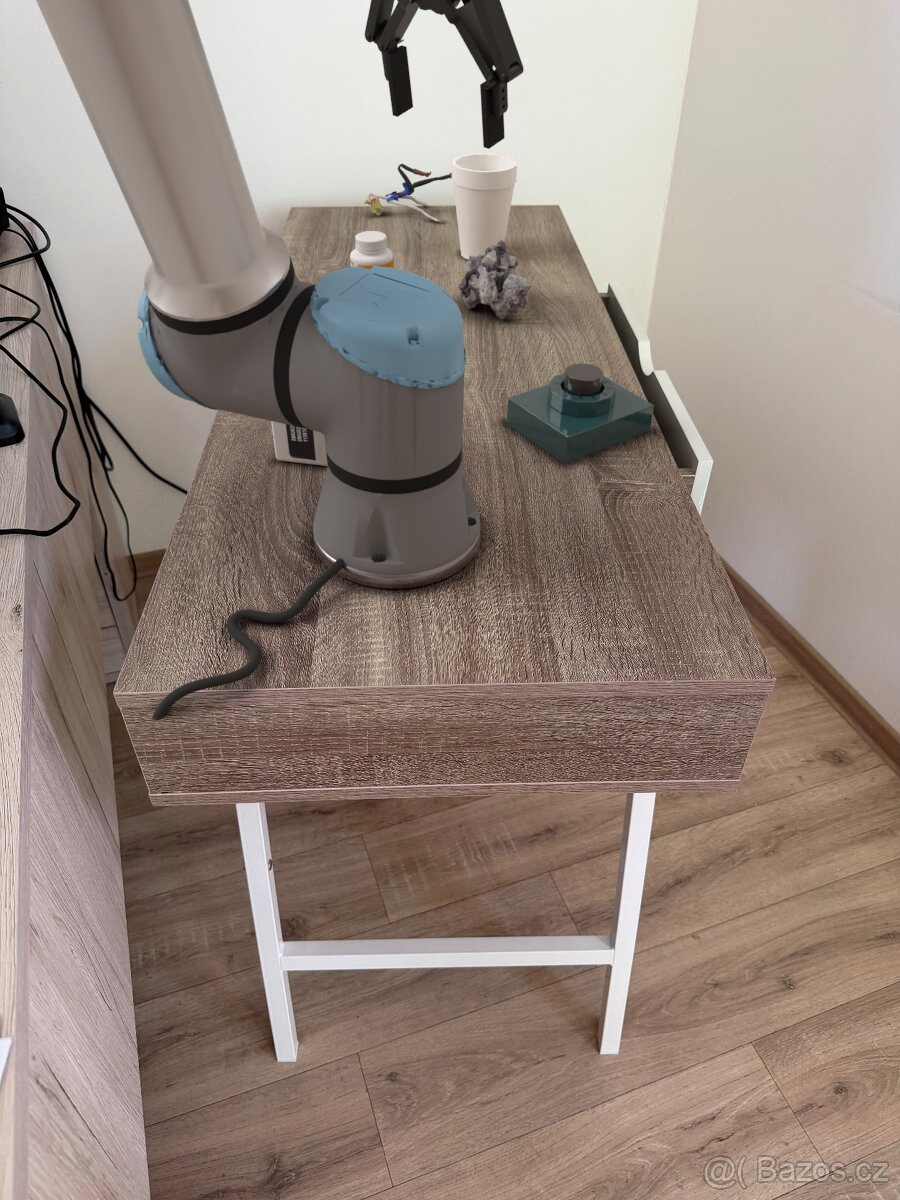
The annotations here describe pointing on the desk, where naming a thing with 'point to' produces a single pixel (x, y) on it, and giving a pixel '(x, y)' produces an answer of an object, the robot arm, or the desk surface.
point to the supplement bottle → (371, 251)
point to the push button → (583, 380)
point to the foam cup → (482, 199)
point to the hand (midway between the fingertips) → (447, 126)
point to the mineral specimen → (494, 281)
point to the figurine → (405, 192)
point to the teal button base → (578, 418)
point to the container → (299, 444)
